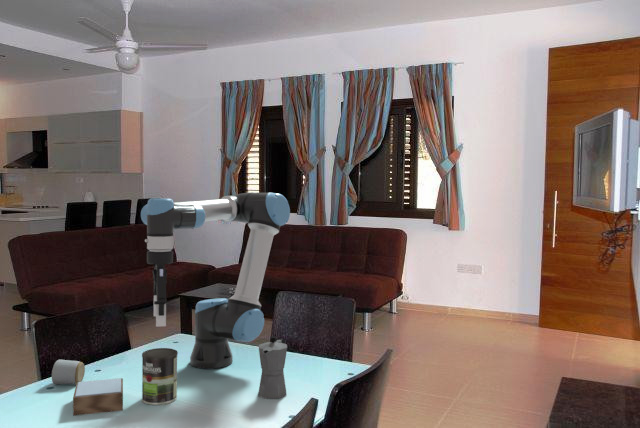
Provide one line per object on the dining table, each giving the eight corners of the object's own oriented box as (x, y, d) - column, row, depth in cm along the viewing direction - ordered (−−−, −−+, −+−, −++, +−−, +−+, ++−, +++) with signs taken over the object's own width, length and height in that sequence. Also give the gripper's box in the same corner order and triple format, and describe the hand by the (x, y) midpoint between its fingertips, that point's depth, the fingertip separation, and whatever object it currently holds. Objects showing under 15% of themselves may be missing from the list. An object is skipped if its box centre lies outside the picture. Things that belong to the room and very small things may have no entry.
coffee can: (163, 407, 163) (163, 359, 162) (134, 402, 166) (134, 355, 166) (184, 395, 172) (184, 350, 172) (156, 390, 176) (156, 346, 175)
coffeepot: (278, 403, 167) (279, 343, 166) (249, 399, 170) (250, 340, 169) (296, 386, 182) (297, 331, 181) (269, 382, 185) (269, 328, 184)
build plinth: (122, 394, 172) (122, 377, 172) (122, 410, 160) (122, 391, 160) (76, 399, 168) (76, 381, 168) (73, 415, 156) (73, 396, 156)
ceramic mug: (77, 387, 178) (77, 363, 178) (50, 387, 177) (51, 363, 177) (89, 377, 188) (89, 354, 188) (64, 376, 188) (65, 354, 188)
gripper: (145, 246, 178) (144, 312, 179) (148, 255, 154) (148, 331, 155) (169, 245, 180) (169, 311, 181) (176, 254, 157) (176, 330, 158)
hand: (159, 321), depth 168 cm, fingers open, 13 cm apart
